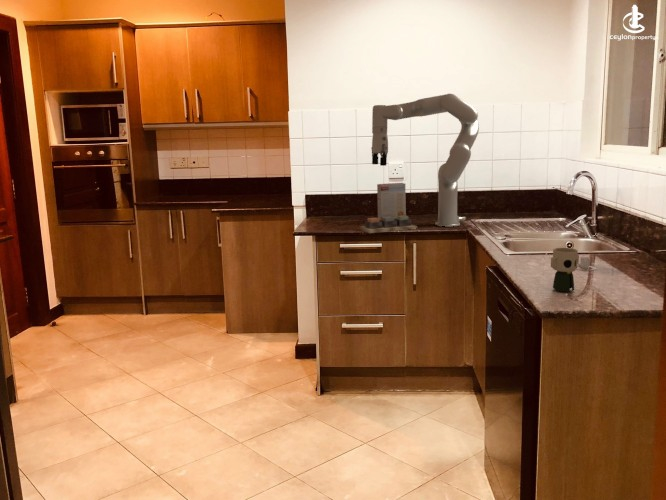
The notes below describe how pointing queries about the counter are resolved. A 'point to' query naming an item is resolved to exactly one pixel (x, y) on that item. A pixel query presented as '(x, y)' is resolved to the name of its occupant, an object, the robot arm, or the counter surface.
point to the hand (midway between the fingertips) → (379, 164)
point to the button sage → (403, 217)
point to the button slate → (388, 218)
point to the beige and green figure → (564, 268)
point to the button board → (387, 226)
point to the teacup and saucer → (585, 263)
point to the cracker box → (391, 200)
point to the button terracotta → (373, 220)
